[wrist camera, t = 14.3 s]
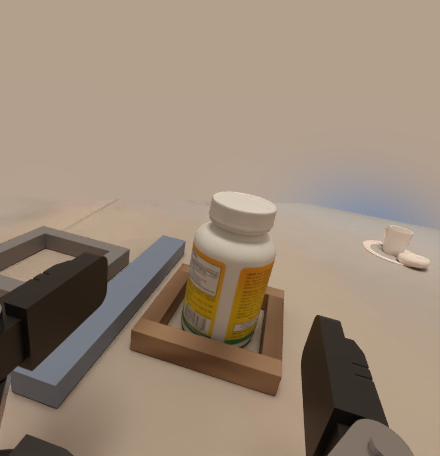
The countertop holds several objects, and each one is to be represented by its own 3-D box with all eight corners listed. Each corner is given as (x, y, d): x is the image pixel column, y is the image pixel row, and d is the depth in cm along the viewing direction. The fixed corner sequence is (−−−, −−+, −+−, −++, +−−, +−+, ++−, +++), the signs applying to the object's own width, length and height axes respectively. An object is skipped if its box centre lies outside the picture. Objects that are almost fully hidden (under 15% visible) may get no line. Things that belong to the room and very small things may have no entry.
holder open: (-59, 288, 20) (-63, 269, 19) (44, 240, 28) (43, 226, 27) (56, 325, 18) (55, 306, 18) (128, 263, 27) (129, 249, 26)
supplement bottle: (173, 345, 18) (193, 204, 15) (188, 297, 23) (205, 183, 20) (255, 361, 18) (294, 223, 15) (252, 309, 23) (282, 197, 20)
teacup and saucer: (435, 279, 36) (449, 250, 35) (369, 262, 38) (381, 234, 36) (410, 251, 44) (421, 227, 43) (356, 238, 46) (365, 215, 44)
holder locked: (130, 349, 18) (131, 330, 17) (180, 277, 26) (182, 263, 25) (275, 396, 16) (281, 377, 16) (279, 305, 25) (284, 290, 24)
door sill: (56, 408, 14) (55, 385, 13) (11, 391, 14) (8, 369, 14) (183, 253, 30) (185, 241, 30) (161, 248, 31) (163, 235, 30)
